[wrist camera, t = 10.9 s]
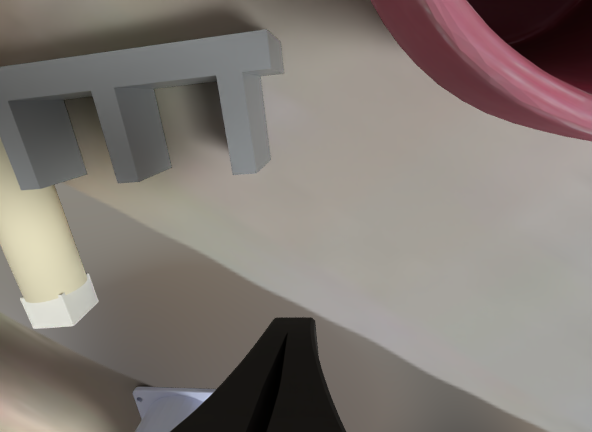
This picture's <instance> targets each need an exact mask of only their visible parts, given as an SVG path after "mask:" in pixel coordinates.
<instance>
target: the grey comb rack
mask: <svg viewBox="0 0 592 432" xmlns="http://www.w3.org/2000/svg"><path fill="white" fill-rule="evenodd" d="M283 73H284V68H283V58H282V48H281V42H280V41H279V40H278V39H277V38H276V37H275V36H274V35H273V34H271V33H270V32H269V31H268V30H267V29H265V30H258V31H250V32H243V33H236V34H229V35H222V36H215V37H208V38H201V39H194V40H187V41H180V42H173V43H166V44H158V45H151V46H144V47H137V48H130V49H123V50H116V51H109V52H102V53H95V54H88V55H81V56H73V57H66V58H59V59H52V60H45V61H38V62H31V63H24V64H17V65H10V66H3V67H0V138H1V140H2V143H3V145H4V148H5V150H6V153H7V156H8V158H9V161H10V163H11V166H12V168H13V171H14V173H15V176H16V178H17V181H18V183H19V186H20V189H21V190H33V189H42V188H45V187H48V186H51V185H55V184H58V183H61V182H64V181H67V180H71V179H74V178H77V177H80V176H83V175H86V174H87V172H86V169H85V166H84V163H83V160H82V157H81V153H80V150H79V147H78V144H77V141H76V138H75V135H74V132H73V128H72V125H71V122H70V119H69V116H68V113H67V110H66V106H65V103H64V100H65V99H74V98H82V97H90V96H93V99H94V103H95V106H96V110H97V113H98V117H99V120H100V124H101V127H102V131H103V134H104V137H105V141H106V144H107V148H108V151H109V155H110V158H111V162H112V165H113V168H114V172H115V175H116V179H117V182H118V183H129V182H140V181H142V180H144V179H147V178H149V177H151V176H153V175H156V174H158V173H160V172H163V171H165V170H167V169H170V168H172V167H171V162H170V158H169V153H168V149H167V145H166V140H165V136H164V132H163V127H162V123H161V119H160V114H159V110H158V106H157V101H156V97H155V92H154V89H157V88H166V87H174V86H182V85H191V84H199V83H208V82H216V81H217V84H218V90H219V96H220V102H221V108H222V114H223V120H224V126H225V132H226V138H227V144H228V150H229V156H230V162H231V167H232V173H233V175H238V174H252V173H257V172H258V171H259V170H260V169H261V168H263V167H264V166H265V165H266V164H267V163H268V162H269V161H270V160H271V157H270V149H269V141H268V134H267V126H266V118H265V110H264V102H263V94H262V86H261V78H260V76H266V75H275V74H283Z"/></svg>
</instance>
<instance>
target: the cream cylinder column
mask: <svg viewBox="0 0 592 432" xmlns="http://www.w3.org/2000/svg"><path fill="white" fill-rule="evenodd" d="M0 245H1V248H2V250H3V252H4V254H5V257H6V259H7V261H8V263H9V266H10V268H11V270H12V272H13V275H14V277H15V279H16V281H17V284H18V286H19V288H20V291H21V293H22V295H23V296H22V297H21V298H20V300H21V302H22V304H23V306H24V309H25V311H26V313H27V315H28V318H29V320H30V322H31V324H32V326H33V329H40V328H53V327H66V326H74V325H75V324H76V323H77V322H78V321H79V320H80V319H81V318H82V317H83V316H85V315H86V313H88V312H89V311H90V310H91V309H92V308H93V307H94V306H95V305H96V304H97V302H99V301H98V298H97V295H96V292H95V289H94V287H93V284H92V281H91V278H90V275H89V273H86V272H85V270H84V267H83V264H82V261H81V258H80V256H79V253H78V250H77V247H76V245H75V242H74V239H73V236H72V233H71V231H70V228H69V225H68V222H67V220H66V217H65V214H64V211H63V208H62V205H61V203H60V200H59V197H58V194H57V192H56V189H55V186H54V185H51V186H48V187H45V188H42V189H33V190H21V189H20V186H19V183H18V181H17V178H16V176H15V173H14V171H13V168H12V166H11V163H10V161H9V158H8V156H7V153H6V150H5V148H4V145H3V143H2V140H1V138H0Z"/></svg>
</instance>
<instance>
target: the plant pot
mask: <svg viewBox="0 0 592 432" xmlns="http://www.w3.org/2000/svg"><path fill="white" fill-rule="evenodd" d="M371 2H372V4H373V6H374V8H375V9H376V11H377V13H378V15H379V16H380V18H381V20H382V21H383V23H384V25H385V26H386V27H387V29H388V30H389V32H390V33H391V34H392V36H393V37H394V39H395V40H396V41H397V43H398V44H399V46H400V47H401V48H402V49H403V50H404V51H405V52H406V53H407V55H408V56H409V57H410V58H411V59H412V60H413V61H414V63H415V64H416V65H417V66H418V67H420V68H421V69H422V70H423V71H424V72H425V73H426V74H427V75H428V76H429V77H431V78H432V79H433V80H434V81H435V82H436V83H437V84H438V85H440V86H441V87H443V88H444V89H446V90H447V91H449V92H450V93H452V94H453V95H455V96H456V97H458V98H459V99H461V100H462V101H464V102H466V103H468V104H470V105H472V106H473V107H475V108H477V109H479V110H481V111H483V112H485V113H487V114H490V115H493V116H496V117H498V118H501V119H504V120H506V121H509V122H512V123H515V124H519V125H522V126H526V127H530V128H533V129H537V130H541V131H544V132H549V133H553V134H557V135H562V136H566V137H571V138H577V139H582V140H588V141H592V0H371Z"/></svg>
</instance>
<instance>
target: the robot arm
mask: <svg viewBox="0 0 592 432" xmlns="http://www.w3.org/2000/svg"><path fill="white" fill-rule="evenodd" d="M315 326H316V325H315V320H314V319H313V318H275V319H274V320H273V321H272V322H271V324H270V325H269V327H268V328H267V329H266V331H265V332H264V333H263V335H262V336H261V337H260V339H259V340H258V341H257V343H256V344H255V345H254V347H253V348H252V349H251V350H250V352H249V353H248V354H247V355H246V357H245V358H244V359H243V360H242V362H241V363H240V364H239V365H238V366H237V367H236V368H235V370H234V371H233V372H232V373H231V374H230V375H229V377H227V379H226V380H225V381H224V382H223V383H222V384H221V385H220V386H219V387H218V388H217V389H201V388H168V387H136V388H135V389H134V391H133V396H134V399H135V402H136V405H137V407H138V410H139V413H140V416H141V419H142V420H141V422H140V424H139V425H138V427H137V429H136V430H135V432H346V431H345V428H344V426H343V424H342V422H341V420H340V417H339V415H338V413H337V410H336V408H335V405H334V403H333V401H332V398H331V395H330V393H329V390H328V387H327V384H326V381H325V378H324V375H323V372H322V369H321V365H320V361H319V356H318V346H317V336H316V327H315Z"/></svg>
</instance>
